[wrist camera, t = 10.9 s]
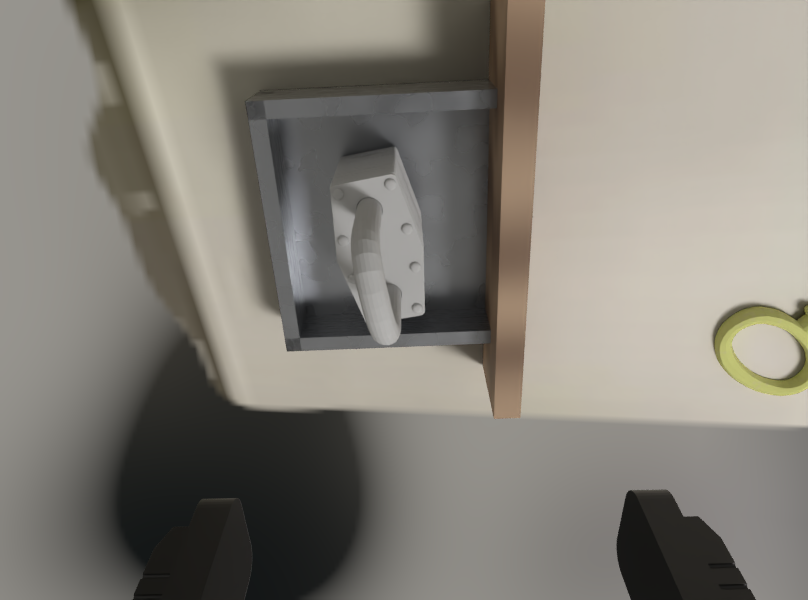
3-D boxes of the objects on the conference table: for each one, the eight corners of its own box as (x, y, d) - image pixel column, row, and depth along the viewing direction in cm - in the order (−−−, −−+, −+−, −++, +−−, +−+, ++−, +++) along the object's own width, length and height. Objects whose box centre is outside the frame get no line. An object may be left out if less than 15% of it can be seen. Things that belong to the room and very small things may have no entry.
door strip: (490, -3, 26) (507, -2, 22) (521, -5, 26) (545, -3, 22) (482, 365, 36) (494, 418, 31) (505, 364, 36) (520, 417, 31)
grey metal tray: (260, 90, 28) (245, 101, 26) (488, 79, 28) (497, 89, 25) (296, 323, 34) (286, 351, 32) (483, 315, 34) (490, 343, 31)
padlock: (328, 158, 29) (296, 231, 20) (407, 142, 29) (409, 210, 20) (361, 283, 32) (345, 393, 24) (432, 270, 32) (443, 376, 23)
